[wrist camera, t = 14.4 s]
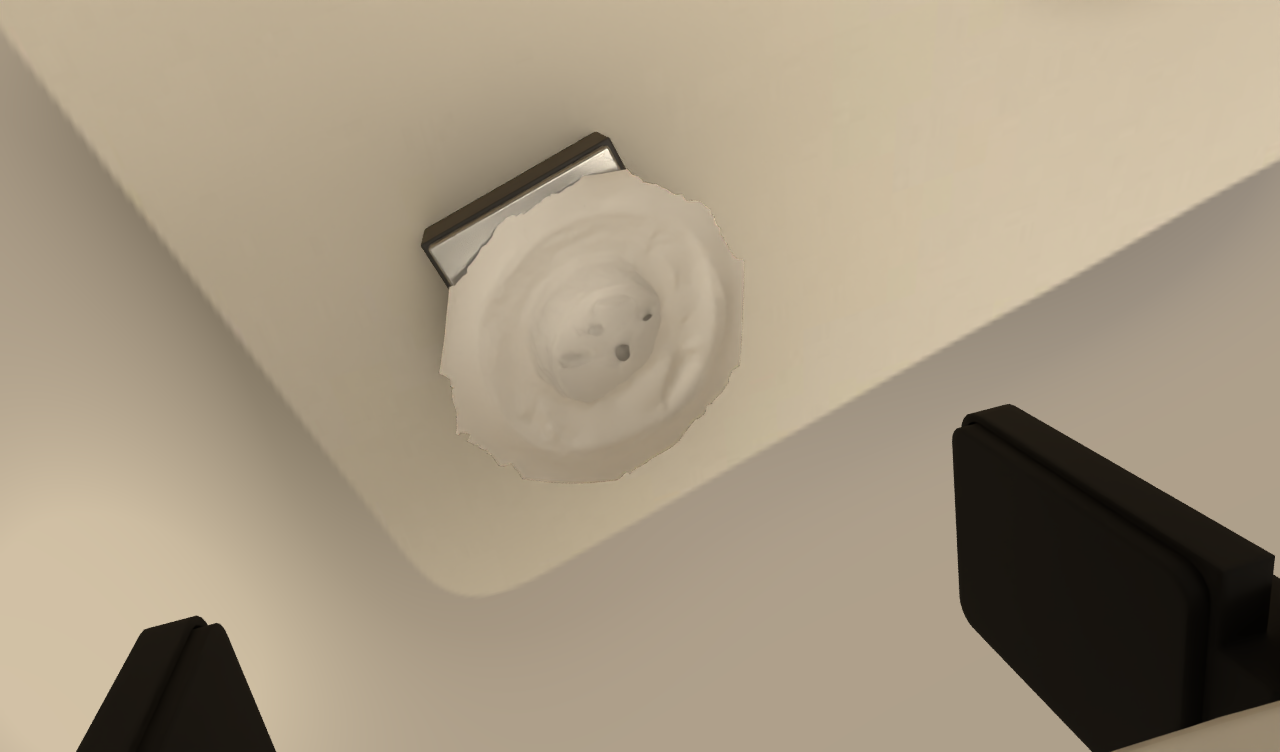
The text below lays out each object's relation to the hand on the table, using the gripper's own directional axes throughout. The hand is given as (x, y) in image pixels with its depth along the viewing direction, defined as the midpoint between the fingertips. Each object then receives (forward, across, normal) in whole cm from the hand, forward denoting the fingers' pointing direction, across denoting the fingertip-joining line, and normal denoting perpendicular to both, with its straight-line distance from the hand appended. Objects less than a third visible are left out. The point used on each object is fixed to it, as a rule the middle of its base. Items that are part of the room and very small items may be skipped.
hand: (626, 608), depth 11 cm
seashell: (+15, -1, 0) cm, 15 cm away
